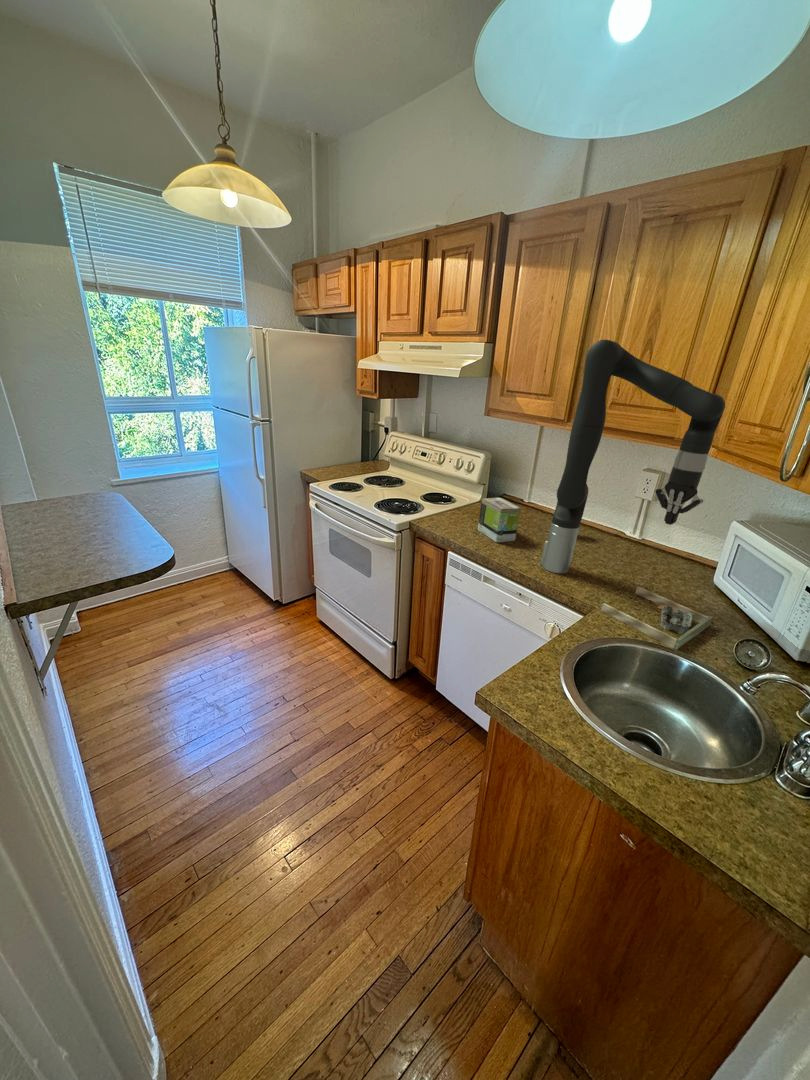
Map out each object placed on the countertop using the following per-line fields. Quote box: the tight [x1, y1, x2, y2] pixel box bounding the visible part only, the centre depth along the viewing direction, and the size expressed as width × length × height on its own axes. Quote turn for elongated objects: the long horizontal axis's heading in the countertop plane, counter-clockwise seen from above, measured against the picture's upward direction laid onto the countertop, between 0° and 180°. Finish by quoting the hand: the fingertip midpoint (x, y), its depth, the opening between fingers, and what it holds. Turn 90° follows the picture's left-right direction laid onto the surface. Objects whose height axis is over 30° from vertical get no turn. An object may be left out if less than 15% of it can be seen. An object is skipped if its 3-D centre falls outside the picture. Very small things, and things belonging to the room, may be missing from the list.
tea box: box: [477, 497, 522, 543], centre depth 177 cm, size 15×10×15 cm, turn 22°
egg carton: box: [660, 603, 693, 636], centre depth 123 cm, size 11×8×4 cm
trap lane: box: [600, 586, 713, 651], centre depth 125 cm, size 22×22×3 cm
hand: (669, 523), depth 127 cm, fingers closed
